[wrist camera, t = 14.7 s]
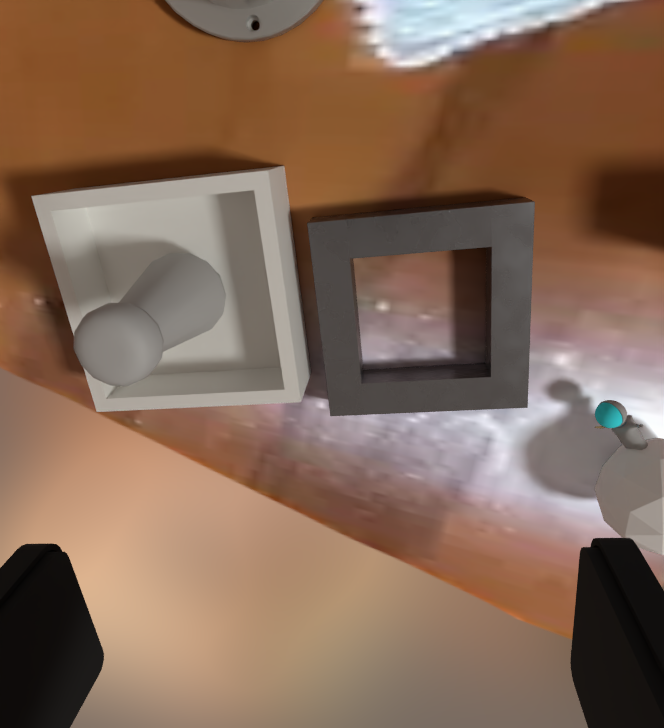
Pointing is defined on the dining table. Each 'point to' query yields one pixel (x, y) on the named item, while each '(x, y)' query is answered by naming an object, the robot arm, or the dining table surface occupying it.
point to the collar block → (417, 235)
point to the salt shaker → (150, 319)
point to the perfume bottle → (632, 481)
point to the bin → (209, 242)
